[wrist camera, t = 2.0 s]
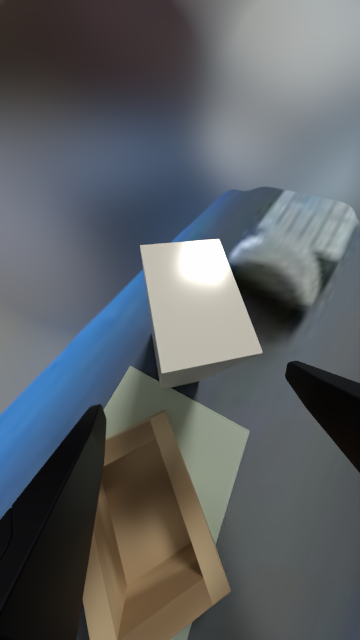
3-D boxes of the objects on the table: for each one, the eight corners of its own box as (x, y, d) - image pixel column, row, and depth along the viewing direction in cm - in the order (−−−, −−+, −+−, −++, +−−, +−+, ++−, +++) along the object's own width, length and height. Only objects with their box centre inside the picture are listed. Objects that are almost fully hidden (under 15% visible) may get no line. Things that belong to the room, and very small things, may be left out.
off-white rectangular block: (199, 381, 19) (262, 352, 7) (160, 389, 18) (161, 373, 6) (186, 326, 21) (219, 238, 9) (151, 332, 20) (140, 245, 9)
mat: (183, 645, 12) (184, 649, 12) (27, 537, 14) (25, 539, 13) (248, 430, 17) (249, 431, 17) (130, 366, 19) (130, 365, 19)
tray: (213, 539, 14) (231, 591, 11) (118, 606, 13) (99, 694, 9) (165, 409, 17) (165, 413, 14) (83, 449, 16) (58, 466, 12)
